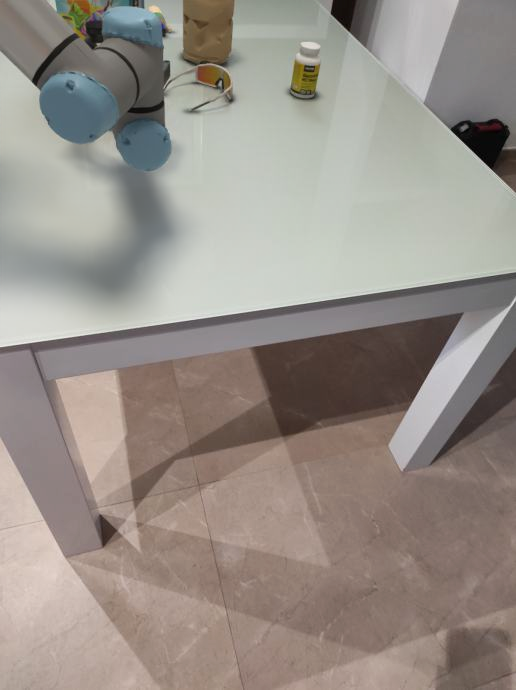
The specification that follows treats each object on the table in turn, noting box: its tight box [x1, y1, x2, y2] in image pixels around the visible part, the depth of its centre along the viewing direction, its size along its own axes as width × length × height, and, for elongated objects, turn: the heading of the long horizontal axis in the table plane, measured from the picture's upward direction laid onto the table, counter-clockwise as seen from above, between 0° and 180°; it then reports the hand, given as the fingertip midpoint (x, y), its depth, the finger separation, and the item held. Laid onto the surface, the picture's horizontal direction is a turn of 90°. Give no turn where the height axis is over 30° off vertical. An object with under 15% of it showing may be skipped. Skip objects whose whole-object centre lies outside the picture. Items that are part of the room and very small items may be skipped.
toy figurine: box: [147, 5, 173, 38], centre depth 144 cm, size 8×4×12 cm
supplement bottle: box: [84, 20, 104, 50], centre depth 103 cm, size 7×7×12 cm
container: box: [182, 0, 236, 65], centre depth 128 cm, size 13×13×18 cm
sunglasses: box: [164, 62, 234, 112], centre depth 118 cm, size 14×15×5 cm
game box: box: [54, 0, 146, 41], centre depth 115 cm, size 20×6×27 cm, turn 65°
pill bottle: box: [289, 41, 322, 99], centre depth 123 cm, size 6×6×11 cm
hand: (106, 52), depth 94 cm, fingers open, 13 cm apart
